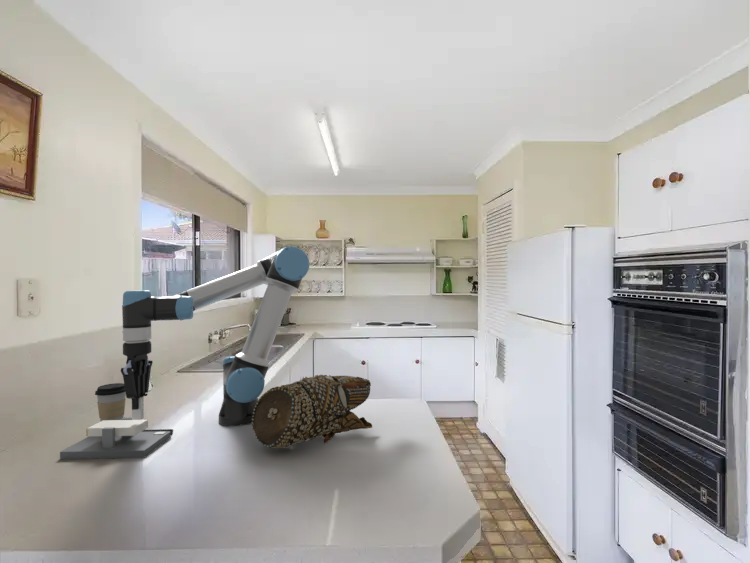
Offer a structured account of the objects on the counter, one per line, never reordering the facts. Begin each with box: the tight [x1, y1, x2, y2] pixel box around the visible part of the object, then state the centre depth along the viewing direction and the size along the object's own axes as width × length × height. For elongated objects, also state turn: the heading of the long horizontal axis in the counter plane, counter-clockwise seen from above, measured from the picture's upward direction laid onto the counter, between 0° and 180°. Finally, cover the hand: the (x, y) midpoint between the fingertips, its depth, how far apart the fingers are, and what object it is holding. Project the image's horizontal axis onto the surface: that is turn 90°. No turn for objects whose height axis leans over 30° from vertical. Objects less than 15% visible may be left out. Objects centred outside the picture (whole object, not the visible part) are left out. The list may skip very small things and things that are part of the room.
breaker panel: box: [59, 416, 172, 460], centre depth 123 cm, size 24×15×8 cm, turn 90°
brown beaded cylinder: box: [251, 374, 373, 449], centre depth 128 cm, size 24×22×35 cm
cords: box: [141, 428, 174, 436], centre depth 134 cm, size 17×3×1 cm, turn 90°
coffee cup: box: [94, 382, 127, 422], centre depth 139 cm, size 9×9×15 cm
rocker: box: [85, 419, 149, 437], centre depth 123 cm, size 14×7×2 cm, turn 90°
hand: (137, 418), depth 123 cm, fingers closed
